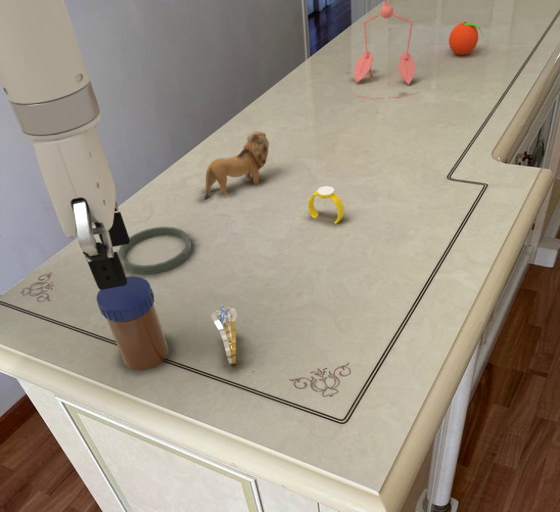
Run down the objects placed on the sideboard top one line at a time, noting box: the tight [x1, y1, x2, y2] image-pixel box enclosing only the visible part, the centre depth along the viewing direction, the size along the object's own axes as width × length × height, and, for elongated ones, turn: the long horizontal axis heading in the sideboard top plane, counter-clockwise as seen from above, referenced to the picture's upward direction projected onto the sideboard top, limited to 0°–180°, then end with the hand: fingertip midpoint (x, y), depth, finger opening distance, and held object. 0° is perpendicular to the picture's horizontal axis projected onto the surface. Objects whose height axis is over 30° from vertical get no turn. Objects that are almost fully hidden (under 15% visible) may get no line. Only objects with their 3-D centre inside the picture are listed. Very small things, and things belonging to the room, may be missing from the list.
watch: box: [307, 185, 345, 225], centre depth 95 cm, size 6×3×6 cm, turn 57°
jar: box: [105, 302, 169, 371], centre depth 74 cm, size 6×6×11 cm
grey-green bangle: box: [117, 226, 192, 276], centre depth 94 cm, size 11×11×2 cm
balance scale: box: [345, 0, 419, 100], centre depth 124 cm, size 15×26×35 cm, turn 65°
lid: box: [96, 275, 155, 322], centre depth 71 cm, size 7×7×2 cm
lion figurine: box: [203, 130, 270, 201], centre depth 105 cm, size 15×5×9 cm, turn 125°
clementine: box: [448, 21, 483, 56], centre depth 143 cm, size 8×7×7 cm
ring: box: [210, 303, 238, 365], centre depth 74 cm, size 7×3×8 cm, turn 5°
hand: (115, 263), depth 67 cm, fingers open, 7 cm apart
